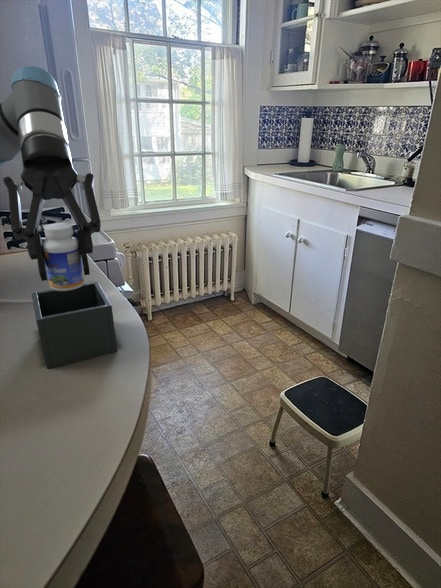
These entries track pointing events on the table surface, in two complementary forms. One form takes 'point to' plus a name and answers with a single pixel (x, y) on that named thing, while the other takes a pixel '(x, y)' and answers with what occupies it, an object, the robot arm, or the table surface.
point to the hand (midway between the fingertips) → (65, 273)
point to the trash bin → (74, 324)
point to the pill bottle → (62, 258)
